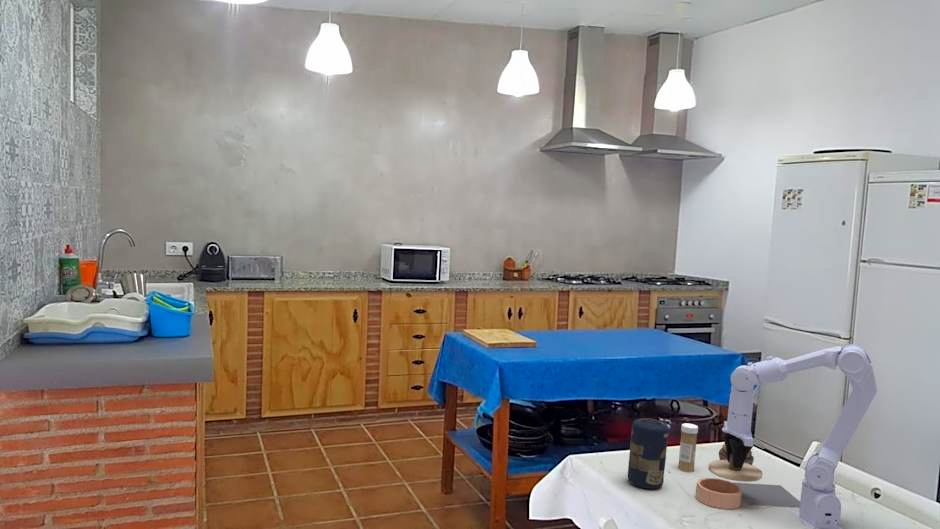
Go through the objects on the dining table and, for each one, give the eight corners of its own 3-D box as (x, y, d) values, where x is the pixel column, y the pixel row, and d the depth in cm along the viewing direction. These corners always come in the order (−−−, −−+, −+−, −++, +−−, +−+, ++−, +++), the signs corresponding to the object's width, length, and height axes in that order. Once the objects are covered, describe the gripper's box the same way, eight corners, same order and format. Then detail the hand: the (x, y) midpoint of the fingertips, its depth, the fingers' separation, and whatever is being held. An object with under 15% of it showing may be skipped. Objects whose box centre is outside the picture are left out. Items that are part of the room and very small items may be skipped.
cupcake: (758, 479, 201) (761, 444, 201) (723, 476, 201) (727, 442, 201) (744, 467, 211) (748, 434, 210) (712, 464, 211) (715, 431, 210)
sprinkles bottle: (697, 472, 203) (701, 426, 202) (686, 475, 200) (691, 428, 199) (684, 467, 207) (688, 421, 206) (673, 469, 204) (678, 423, 203)
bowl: (747, 513, 177) (748, 495, 176) (704, 510, 176) (706, 493, 176) (730, 496, 187) (731, 479, 187) (690, 493, 187) (691, 477, 187)
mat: (807, 510, 181) (807, 507, 181) (749, 506, 180) (749, 504, 180) (780, 487, 196) (780, 485, 196) (726, 484, 195) (726, 482, 195)
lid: (771, 482, 177) (772, 465, 177) (720, 481, 176) (721, 464, 176) (748, 463, 190) (749, 447, 190) (700, 462, 189) (701, 446, 189)
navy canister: (633, 474, 198) (639, 411, 196) (667, 483, 193) (673, 418, 192) (622, 484, 189) (627, 418, 188) (657, 494, 185) (663, 426, 183)
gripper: (714, 404, 189) (709, 454, 190) (735, 420, 175) (730, 474, 176) (740, 405, 189) (735, 455, 190) (764, 422, 175) (758, 476, 176)
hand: (734, 464), depth 183 cm, fingers closed on lid, 3 cm apart
